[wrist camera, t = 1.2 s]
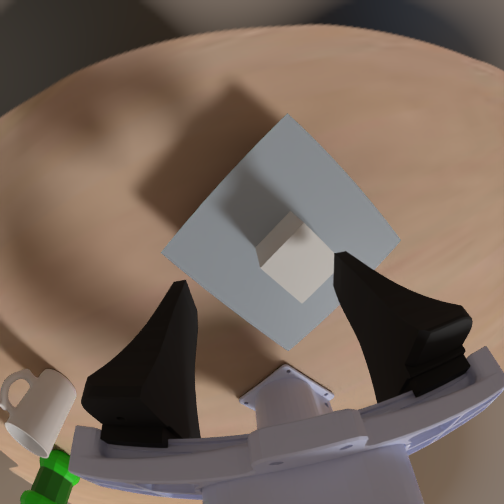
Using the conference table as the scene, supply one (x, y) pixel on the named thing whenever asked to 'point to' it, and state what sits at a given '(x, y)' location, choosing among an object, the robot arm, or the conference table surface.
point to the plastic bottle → (51, 481)
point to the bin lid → (280, 234)
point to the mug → (38, 409)
